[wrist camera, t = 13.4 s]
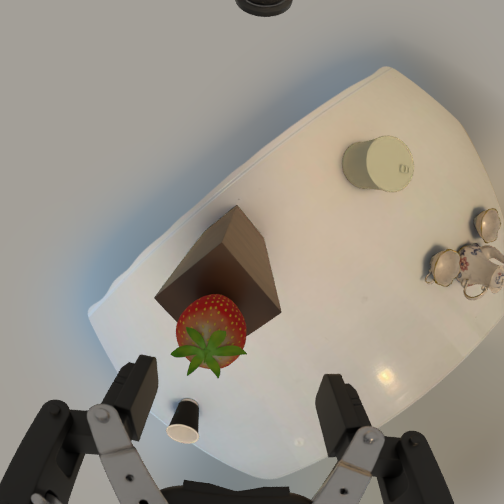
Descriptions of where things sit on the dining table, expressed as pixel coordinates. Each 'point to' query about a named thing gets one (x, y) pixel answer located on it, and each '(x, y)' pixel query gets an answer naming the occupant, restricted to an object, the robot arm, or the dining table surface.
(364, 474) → the robot arm
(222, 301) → the fruit
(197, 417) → the dixie cup
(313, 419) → the dining table surface
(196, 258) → the plinth
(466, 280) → the chinaware
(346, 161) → the can
